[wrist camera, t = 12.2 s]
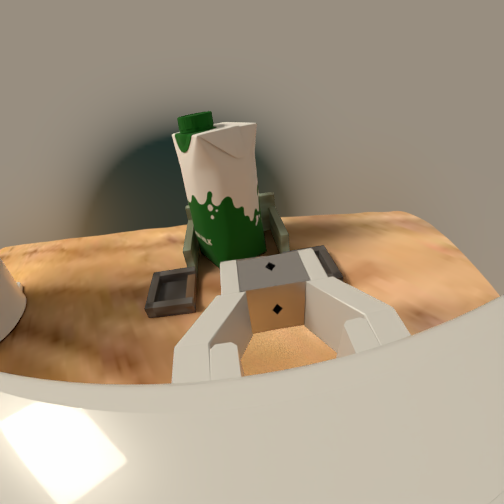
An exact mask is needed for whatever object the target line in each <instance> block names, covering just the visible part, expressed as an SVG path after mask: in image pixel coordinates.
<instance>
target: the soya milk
mask: <svg viewBox="0 0 504 504" xmlns="http://www.w3.org/2000/svg"><path fill="white" fill-rule="evenodd" d="M178 125H179V130H180V132H178V133H174V134H172V137H173V141H174V145H175V148H176V152H177V155H178V159H179V162H180V166H181V171H182V175H183V180H184V185H185V189H186V194H187V199H188V203H189V208H190V212H191V216H192V221H193V225H194V229H195V233H196V237H197V240H198V244H199V247H200V251H201V253H202V254H204V255H205V256H206V257H207V258H208V259H209V260H211V261H212V262H213V263H214V264H215V265H216V266H218V267H219V268H220V263H221V262H224V261H231V260H238V259H245V258H253V257H257V256H258V255H260V254H262V253H264V252H266V251H267V249H266V243H265V237H264V230H263V224H262V218H261V210H260V201H259V192H258V182H257V173H256V164H255V138H256V126H257V123H241V122H223V123H218V124H213V119H212V112H211V111H208V112H201V113H195V114H190V115H185V116H181V117H178ZM236 263H237V261H236Z"/></svg>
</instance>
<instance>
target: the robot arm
mask: <svg viewBox="0 0 504 504" xmlns="http://www.w3.org/2000/svg"><path fill="white" fill-rule="evenodd" d="M236 261H237V263H236ZM220 278H221V295H218V296H216V297H215V298H214V300H213V301H212V302H211V303H210V305H209V306H208V307H207V308H206V309H205V311H204V312H203V313H202V314H201V316H200V317H199V318H198V319H197V320H196V322H195V323H194V324H193V325H192V327H191V328H190V329H189V330H188V331H187V333H186V334H185V335H184V336H183V337H182V339H181V340H180V341H179V342H178V344H177V345H176V346H175V347H174V358H173V371H172V383H170V384H92V383H77V382H65V381H55V380H46V379H39V378H32V377H25V376H19V375H14V374H8V373H3V372H0V504H504V294H503V295H502V296H500V297H498V298H496V299H494V300H492V301H490V302H488V303H486V304H484V305H482V306H480V307H478V308H476V309H474V310H472V311H470V312H467V313H465V314H463V315H461V316H459V317H456V318H454V319H452V320H449V321H447V322H445V323H442V324H440V325H437V326H435V327H432V328H430V329H427V330H425V331H422V332H419V333H417V334H414V335H410V333H409V332H408V330H407V328H406V327H405V325H404V324H403V322H402V320H401V319H400V317H399V316H398V314H397V313H396V311H395V310H394V308H393V307H391V306H389V305H387V304H385V303H384V302H382V301H380V300H378V299H376V298H374V297H372V296H370V295H368V294H366V293H364V292H362V291H360V290H358V289H356V288H354V287H352V286H350V285H348V284H346V283H344V282H342V281H341V280H339V279H337V278H335V277H328V276H327V274H326V272H325V270H324V268H323V267H322V265H321V263H320V261H319V259H318V258H317V256H316V254H315V252H314V250H313V249H312V248H308V249H302V250H297V251H293V252H288V253H282V254H276V255H270V256H260V257H253V258H245V259H238V260H231V261H224V262H221V263H220ZM22 291H23V286H22V285H21V283H20V282H17V283H16V281H15V280H14V278H13V277H12V276H11V274H10V272H9V271H8V269H7V268H6V266H5V265H4V263H3V262H2V260H1V258H0V341H1V340H2V339H4V338H5V337H6V336H7V335H8V334H9V333H10V332H11V330H12V329H13V328H14V327H15V325H16V324H17V322H18V321H19V319H20V318H21V316H22V314H23V312H24V309H25V306H26V297H25V295H24V294H23V292H22ZM300 325H305V327H306V328H308V329H309V330H310V331H311V332H312V333H314V334H315V335H316V336H317V337H319V338H320V339H321V340H322V341H323V342H325V343H326V344H327V345H328V346H329V347H331V348H332V349H333V350H334V351H336V352H337V357H336V359H332V360H328V361H324V362H319V363H315V364H310V365H306V366H301V367H296V368H291V369H286V370H281V371H275V372H270V373H264V374H257V375H251V376H244V372H243V368H242V364H241V358H242V356H243V354H244V352H245V350H246V348H247V346H248V344H249V342H250V340H251V338H252V336H253V334H255V333H260V332H265V331H271V330H276V329H281V328H288V327H294V326H300Z"/></svg>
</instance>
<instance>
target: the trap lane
mask: <svg viewBox="0 0 504 504" xmlns="http://www.w3.org/2000/svg"><path fill="white" fill-rule="evenodd" d="M259 201H260V210H261V218H262V224H263V230H264V231H266V230H271V232H272V235H273V238H274V240H275V243H276V245H277V248H278V251H279V253H280V254H282V253H288V252H293V251H297V250H292V251H289V234H288V232H287V230H286V228H285V226H284V224H283V222H282V220H281V218H280V216H279V214H278V212H277V210H276V208H275V202H274V194H273V192H270V193H263V194H259ZM186 213H187V217H188V224H187V230H186V235H185V241H184V247H183V254H184V257H185V261H186V264H187V267H186V268H180V269H174V270H167V271H161V272H155V273H154V274H153V278H152V281H151V285H150V289H149V293H148V297H147V301H146V305H145V311H146V313H147V315H148V317H149V318H153V317H162V316H170V315H178V314H186V313H194V312H195V309H196V289H197V273H198V258H199V244H198V240H197V237H196V233H195V229H194V225H193V221H192V216H191V212H190V208H189V206H186ZM310 248H312V249H313V250H314V252H315V254H316V256H317V258H318V259H319V261H320V263H321V265H322V267H323V268H324V270H325V272H326V274H327V276H328V277H335V278H337V279H339V280H341V281H342V282H343V276H342V274H341V272H340V271H339V269H338V267H337V266H336V264H335V263H334V261H333V259H332V258H331V256H330V255H329V253H328V251H327V250H326V248H325V247H324V245H322V246H316V247H310ZM304 249H308V248H304ZM298 250H302V249H298Z"/></svg>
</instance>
